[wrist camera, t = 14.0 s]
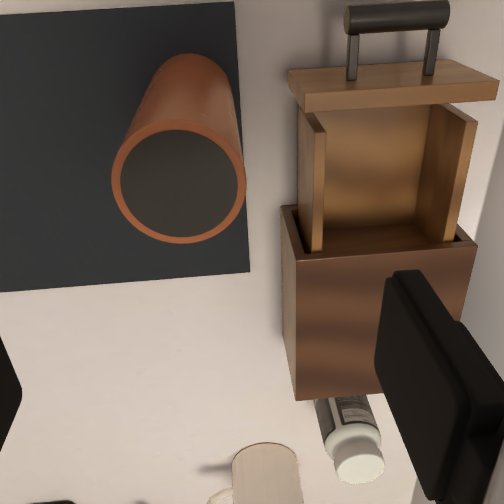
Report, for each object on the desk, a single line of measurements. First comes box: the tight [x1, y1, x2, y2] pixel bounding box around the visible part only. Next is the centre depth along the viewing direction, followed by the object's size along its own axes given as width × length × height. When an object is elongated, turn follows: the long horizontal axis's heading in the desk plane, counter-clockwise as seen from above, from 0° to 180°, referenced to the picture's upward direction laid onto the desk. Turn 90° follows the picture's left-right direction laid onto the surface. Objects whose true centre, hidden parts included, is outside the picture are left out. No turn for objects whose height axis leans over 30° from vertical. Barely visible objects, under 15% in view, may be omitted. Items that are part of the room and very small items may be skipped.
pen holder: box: [111, 53, 246, 244], centre depth 28 cm, size 6×6×16 cm
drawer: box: [288, 0, 500, 254], centre depth 34 cm, size 18×12×7 cm
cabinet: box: [281, 205, 478, 401], centre depth 41 cm, size 15×13×9 cm
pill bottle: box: [313, 395, 385, 484], centre depth 49 cm, size 6×6×10 cm
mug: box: [207, 443, 304, 504], centre depth 55 cm, size 8×12×10 cm, turn 87°
